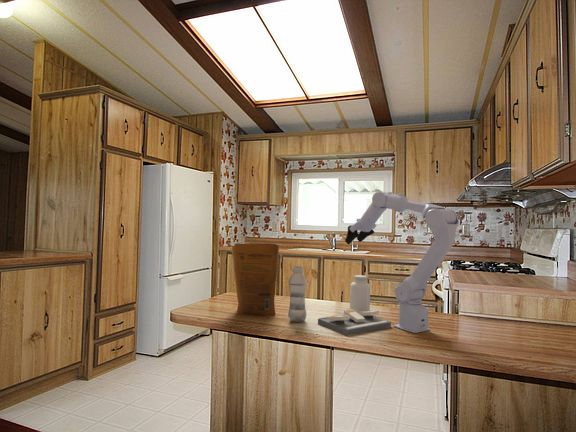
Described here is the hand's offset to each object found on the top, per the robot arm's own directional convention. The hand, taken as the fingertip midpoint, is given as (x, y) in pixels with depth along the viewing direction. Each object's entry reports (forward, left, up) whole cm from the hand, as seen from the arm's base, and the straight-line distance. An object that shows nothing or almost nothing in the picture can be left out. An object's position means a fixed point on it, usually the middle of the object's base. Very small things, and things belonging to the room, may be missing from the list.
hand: (352, 241), depth 153 cm
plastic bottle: (-2, +28, -29) cm, 41 cm away
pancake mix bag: (+16, +36, -29) cm, 49 cm away
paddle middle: (-16, +13, -25) cm, 33 cm away
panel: (-16, +13, -29) cm, 36 cm away
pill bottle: (-3, -2, -29) cm, 29 cm away
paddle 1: (-16, +20, -25) cm, 36 cm away
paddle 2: (-16, +6, -25) cm, 31 cm away
